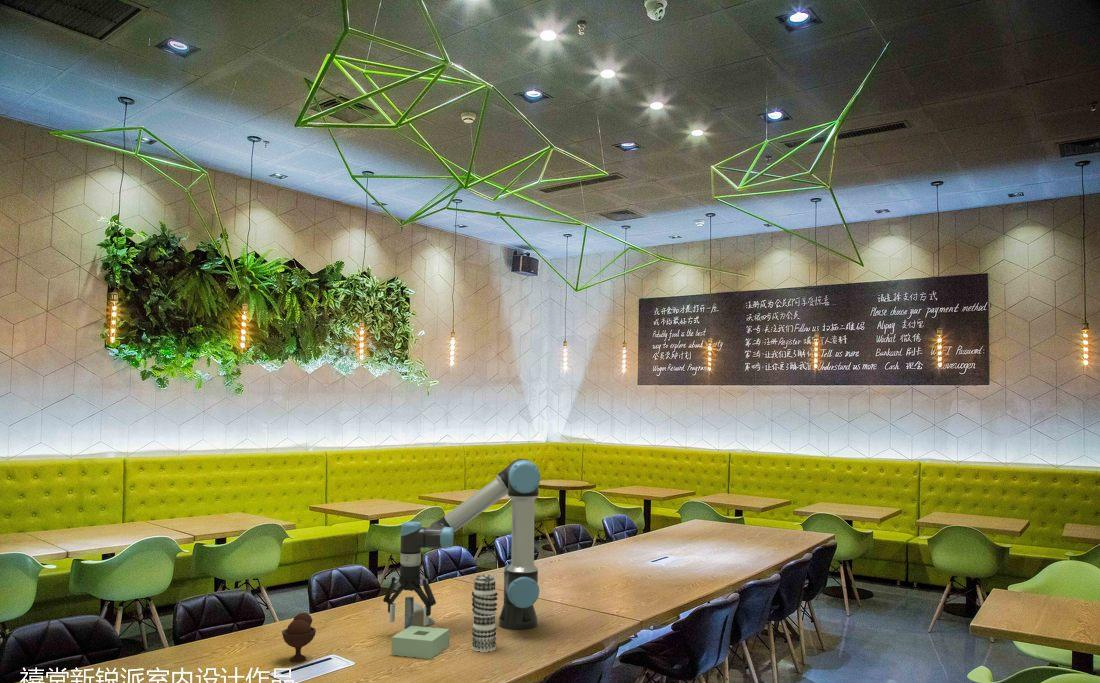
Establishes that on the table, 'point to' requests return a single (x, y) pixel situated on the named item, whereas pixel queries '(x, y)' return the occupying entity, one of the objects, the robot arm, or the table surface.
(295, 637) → the ice cream bowl
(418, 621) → the ceramic mug
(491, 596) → the decorative candle
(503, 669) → the table surface
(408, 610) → the pin
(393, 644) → the socket block
